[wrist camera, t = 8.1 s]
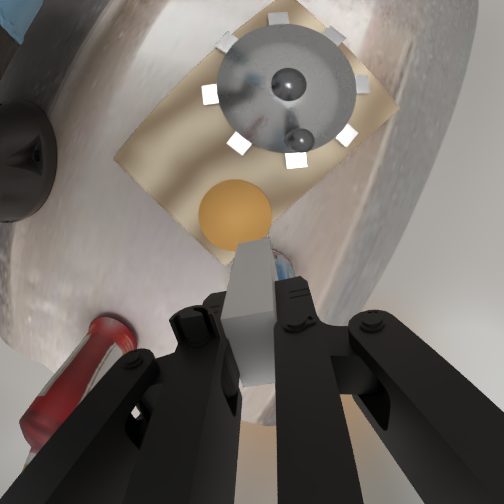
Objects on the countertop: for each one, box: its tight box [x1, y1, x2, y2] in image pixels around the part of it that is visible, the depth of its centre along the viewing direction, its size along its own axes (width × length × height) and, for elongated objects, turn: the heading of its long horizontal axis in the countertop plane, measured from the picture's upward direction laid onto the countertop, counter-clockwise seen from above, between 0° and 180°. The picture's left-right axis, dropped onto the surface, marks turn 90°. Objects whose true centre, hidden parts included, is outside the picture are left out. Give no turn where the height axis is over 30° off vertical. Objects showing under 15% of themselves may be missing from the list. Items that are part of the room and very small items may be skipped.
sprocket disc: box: [201, 12, 370, 168], centre depth 23 cm, size 15×15×6 cm
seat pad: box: [198, 180, 272, 252], centre depth 30 cm, size 7×7×1 cm
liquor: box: [19, 317, 137, 471], centre depth 24 cm, size 7×7×28 cm
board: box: [113, 0, 400, 266], centre depth 27 cm, size 16×24×1 cm, turn 134°
